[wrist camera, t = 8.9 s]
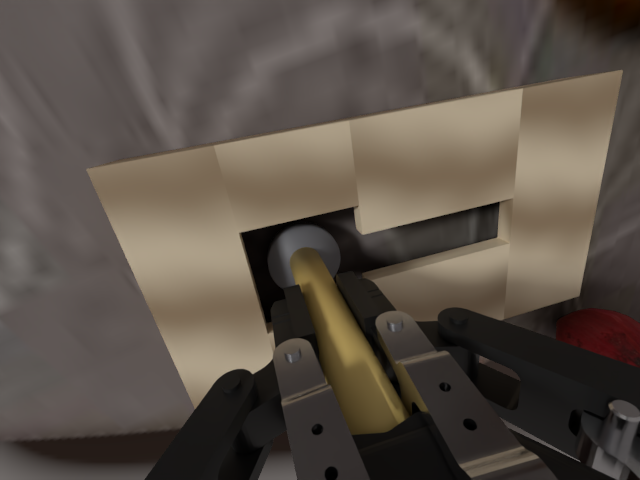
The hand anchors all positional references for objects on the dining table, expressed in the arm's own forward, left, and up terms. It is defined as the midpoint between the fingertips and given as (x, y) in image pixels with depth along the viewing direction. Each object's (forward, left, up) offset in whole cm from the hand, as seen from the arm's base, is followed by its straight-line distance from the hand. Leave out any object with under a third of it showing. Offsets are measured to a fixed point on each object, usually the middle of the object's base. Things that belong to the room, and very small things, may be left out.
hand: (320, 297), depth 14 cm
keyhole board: (0, +5, -6) cm, 8 cm away
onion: (+12, +21, -6) cm, 25 cm away
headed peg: (0, 0, -5) cm, 5 cm away
